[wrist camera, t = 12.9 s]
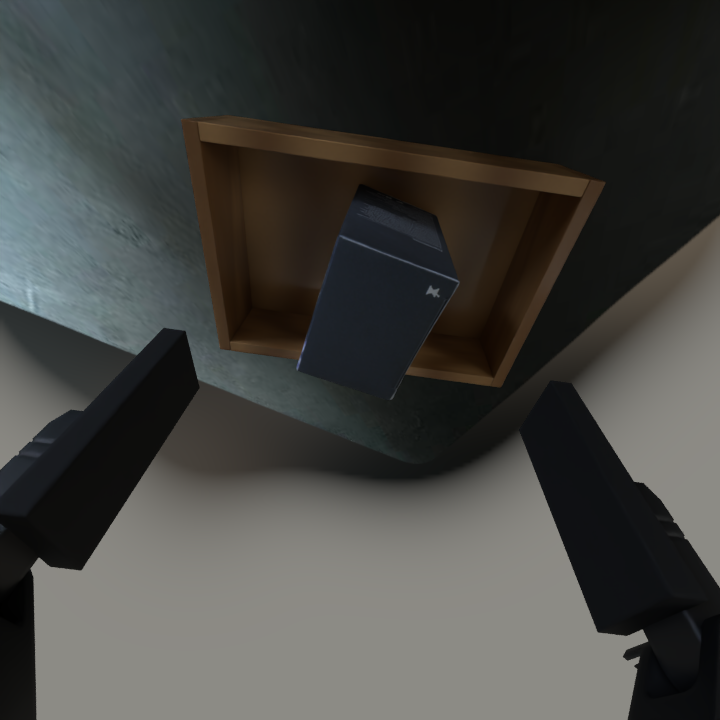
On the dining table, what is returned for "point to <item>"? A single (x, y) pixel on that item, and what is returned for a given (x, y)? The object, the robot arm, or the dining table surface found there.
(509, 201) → the holder
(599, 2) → the dining table surface
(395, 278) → the box
